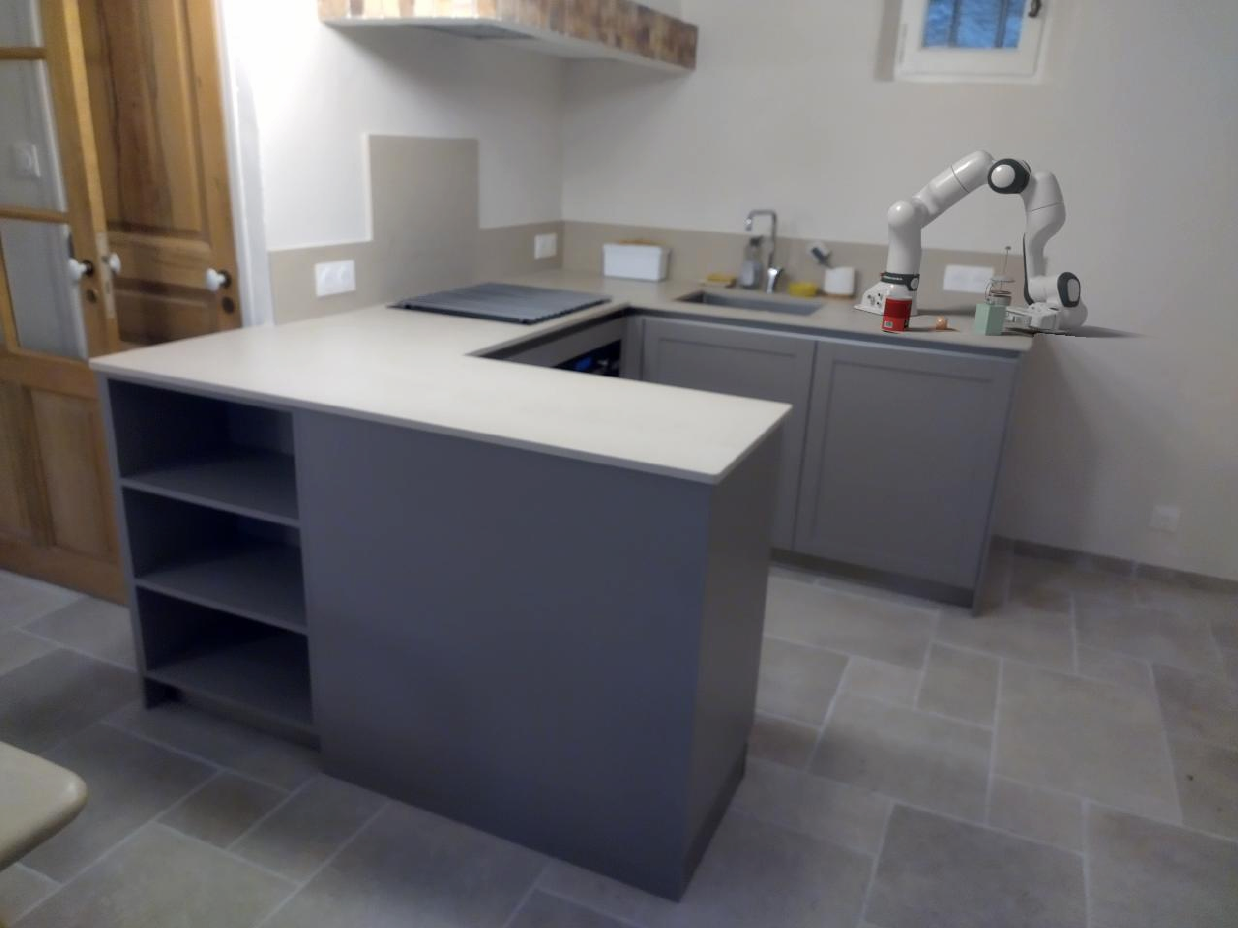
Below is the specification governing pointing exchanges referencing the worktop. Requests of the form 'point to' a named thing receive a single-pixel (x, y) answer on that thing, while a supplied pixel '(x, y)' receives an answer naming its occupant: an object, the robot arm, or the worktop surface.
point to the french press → (1000, 299)
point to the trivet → (941, 330)
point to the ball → (941, 323)
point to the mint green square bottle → (989, 318)
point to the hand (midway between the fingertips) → (1003, 316)
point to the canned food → (897, 313)
